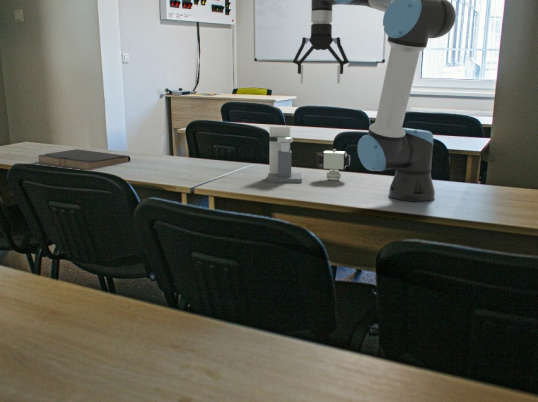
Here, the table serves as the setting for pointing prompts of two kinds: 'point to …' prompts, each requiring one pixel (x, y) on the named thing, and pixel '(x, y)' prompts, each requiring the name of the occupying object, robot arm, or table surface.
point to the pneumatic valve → (334, 162)
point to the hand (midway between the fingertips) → (320, 83)
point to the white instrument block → (283, 142)
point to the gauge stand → (280, 159)
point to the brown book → (83, 159)
